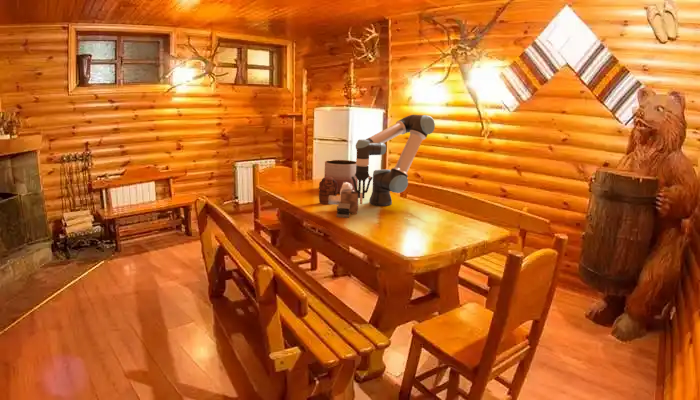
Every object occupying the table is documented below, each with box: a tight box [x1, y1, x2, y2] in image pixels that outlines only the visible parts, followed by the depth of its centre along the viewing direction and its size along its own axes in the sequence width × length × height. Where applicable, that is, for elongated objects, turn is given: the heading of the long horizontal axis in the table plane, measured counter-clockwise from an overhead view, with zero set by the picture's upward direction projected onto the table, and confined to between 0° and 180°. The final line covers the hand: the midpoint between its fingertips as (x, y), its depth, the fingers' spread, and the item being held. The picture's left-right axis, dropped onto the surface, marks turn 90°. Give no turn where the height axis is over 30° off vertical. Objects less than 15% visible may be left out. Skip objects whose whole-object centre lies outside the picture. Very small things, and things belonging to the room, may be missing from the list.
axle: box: [328, 195, 359, 207], centre depth 268 cm, size 18×6×6 cm, turn 84°
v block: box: [336, 203, 351, 219], centre depth 258 cm, size 7×10×6 cm
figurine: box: [339, 182, 354, 196], centre depth 301 cm, size 10×10×12 cm
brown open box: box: [341, 189, 359, 215], centre depth 268 cm, size 10×10×13 cm
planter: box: [323, 159, 359, 194], centre depth 329 cm, size 25×25×22 cm
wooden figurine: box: [318, 176, 338, 205], centre depth 287 cm, size 12×6×18 cm, turn 116°
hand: (361, 203), depth 267 cm, fingers closed
